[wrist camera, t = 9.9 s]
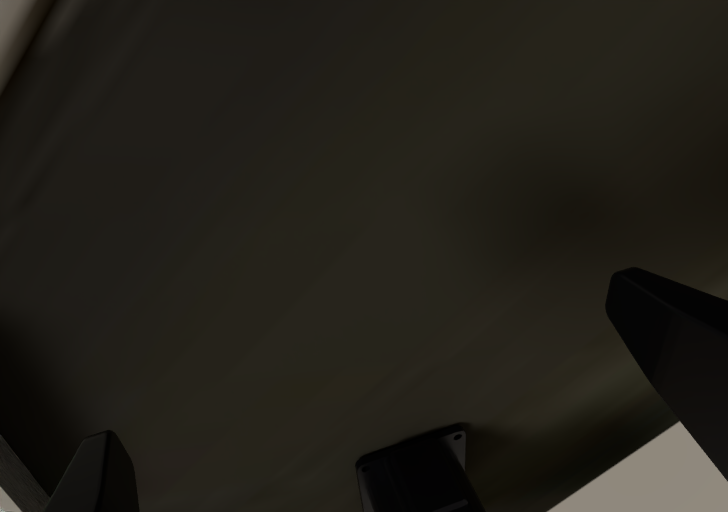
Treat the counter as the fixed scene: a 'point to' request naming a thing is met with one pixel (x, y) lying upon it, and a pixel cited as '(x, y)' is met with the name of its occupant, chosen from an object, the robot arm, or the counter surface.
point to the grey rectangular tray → (18, 484)
